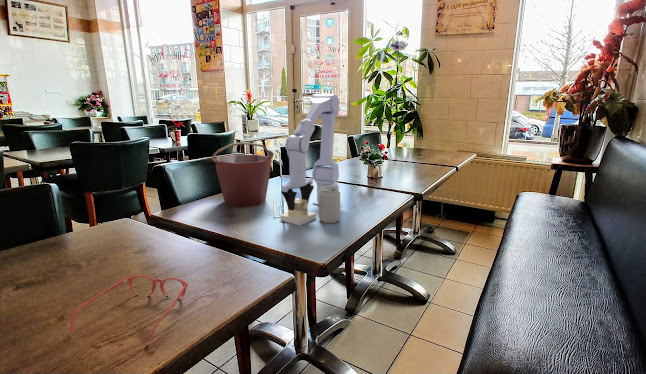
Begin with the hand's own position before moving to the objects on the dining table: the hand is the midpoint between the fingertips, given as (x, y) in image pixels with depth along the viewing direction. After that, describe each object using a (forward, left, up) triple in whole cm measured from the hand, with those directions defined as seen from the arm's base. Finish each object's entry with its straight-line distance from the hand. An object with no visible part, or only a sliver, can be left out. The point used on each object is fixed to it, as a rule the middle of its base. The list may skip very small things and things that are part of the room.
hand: (298, 207), depth 124 cm
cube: (0, 0, -3) cm, 3 cm away
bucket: (-3, -32, -5) cm, 33 cm away
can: (-6, +10, -5) cm, 12 cm away
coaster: (0, 0, -5) cm, 5 cm away
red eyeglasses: (+63, +12, -5) cm, 65 cm away
